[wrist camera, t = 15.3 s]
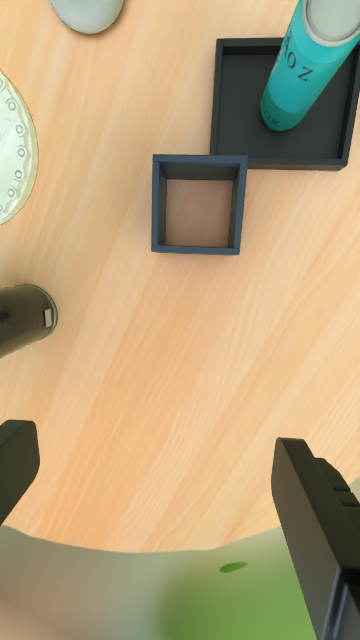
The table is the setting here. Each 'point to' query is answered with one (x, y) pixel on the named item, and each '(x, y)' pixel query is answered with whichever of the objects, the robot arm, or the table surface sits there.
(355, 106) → the tray
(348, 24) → the beverage can
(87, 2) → the donut
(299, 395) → the table surface
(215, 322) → the table surface
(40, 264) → the table surface
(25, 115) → the medallion
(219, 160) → the caddy
